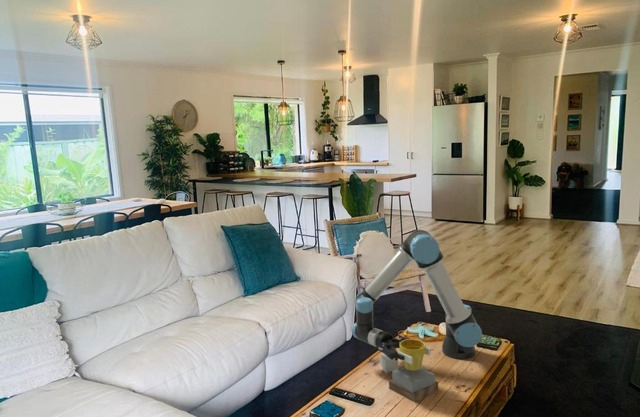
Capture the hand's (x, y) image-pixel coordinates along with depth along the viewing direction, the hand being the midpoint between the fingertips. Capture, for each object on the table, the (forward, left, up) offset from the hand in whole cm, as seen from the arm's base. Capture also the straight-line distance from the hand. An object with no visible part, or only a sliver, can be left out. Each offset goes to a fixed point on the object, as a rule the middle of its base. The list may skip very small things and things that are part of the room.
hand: (420, 356), depth 182 cm
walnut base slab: (0, -4, -16) cm, 17 cm away
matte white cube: (-6, -23, -16) cm, 29 cm away
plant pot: (0, -4, -6) cm, 7 cm away
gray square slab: (0, -4, -12) cm, 13 cm away
